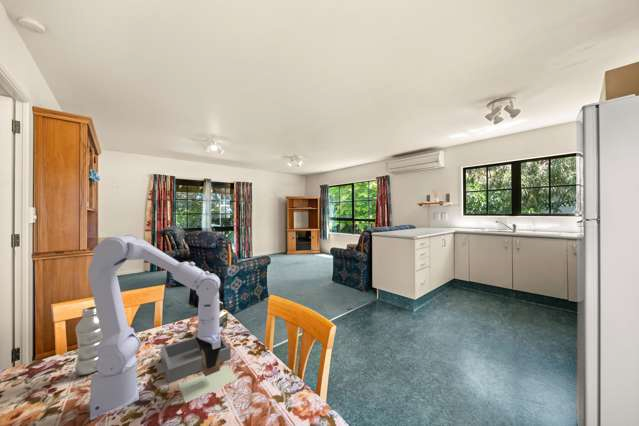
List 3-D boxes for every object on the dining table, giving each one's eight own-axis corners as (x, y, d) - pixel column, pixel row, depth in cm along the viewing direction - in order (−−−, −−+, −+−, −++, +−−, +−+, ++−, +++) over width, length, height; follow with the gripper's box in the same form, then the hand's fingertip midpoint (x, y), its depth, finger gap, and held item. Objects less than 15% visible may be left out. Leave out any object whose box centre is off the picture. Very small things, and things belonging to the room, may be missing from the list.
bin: (168, 385, 69) (168, 369, 69) (160, 360, 81) (160, 347, 81) (230, 360, 81) (230, 347, 81) (215, 342, 93) (215, 330, 93)
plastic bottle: (105, 371, 76) (106, 308, 76) (74, 381, 71) (75, 314, 71) (103, 362, 80) (103, 303, 81) (74, 372, 75) (75, 308, 76)
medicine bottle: (217, 335, 98) (217, 306, 99) (202, 334, 100) (202, 305, 100) (227, 327, 105) (227, 300, 106) (213, 326, 107) (213, 299, 107)
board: (185, 405, 62) (185, 402, 62) (178, 386, 69) (178, 384, 69) (238, 380, 71) (238, 378, 71) (227, 366, 78) (227, 364, 78)
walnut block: (205, 376, 67) (205, 354, 67) (201, 369, 70) (201, 349, 70) (219, 370, 70) (220, 349, 70) (215, 364, 73) (215, 344, 73)
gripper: (231, 320, 67) (231, 369, 67) (215, 306, 78) (215, 347, 78) (204, 328, 63) (204, 380, 62) (191, 312, 74) (191, 356, 73)
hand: (208, 363), depth 70 cm, fingers closed on walnut block, 4 cm apart
